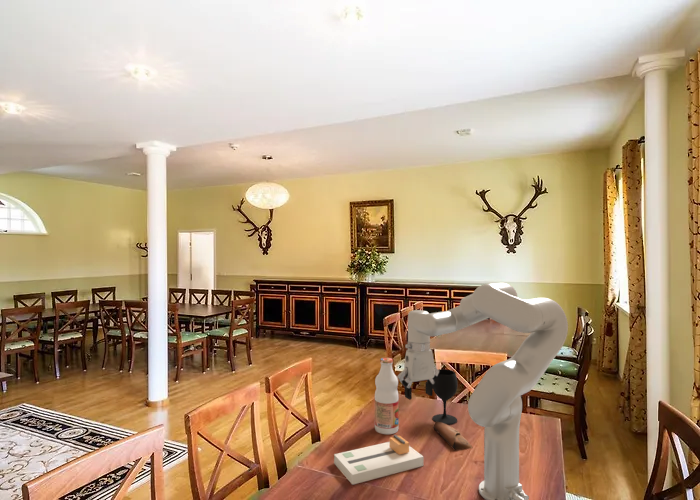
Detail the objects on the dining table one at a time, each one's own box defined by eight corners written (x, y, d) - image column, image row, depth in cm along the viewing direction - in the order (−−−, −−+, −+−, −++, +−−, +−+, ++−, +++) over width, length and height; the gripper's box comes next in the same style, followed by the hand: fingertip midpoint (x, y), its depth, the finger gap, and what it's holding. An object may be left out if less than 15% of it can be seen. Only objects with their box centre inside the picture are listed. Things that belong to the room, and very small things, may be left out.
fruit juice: (371, 426, 167) (371, 356, 167) (393, 423, 169) (393, 355, 169) (378, 436, 158) (378, 362, 158) (402, 433, 160) (402, 361, 160)
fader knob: (399, 444, 144) (399, 433, 144) (409, 452, 138) (409, 440, 138) (389, 447, 142) (389, 435, 142) (398, 454, 136) (398, 443, 136)
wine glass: (430, 423, 170) (430, 374, 170) (433, 413, 180) (433, 367, 180) (457, 426, 167) (456, 376, 167) (458, 416, 177) (457, 369, 177)
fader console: (400, 447, 148) (400, 438, 148) (423, 465, 136) (423, 456, 136) (334, 463, 137) (334, 454, 137) (352, 484, 125) (352, 474, 125)
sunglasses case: (475, 448, 148) (466, 432, 147) (459, 459, 147) (450, 444, 146) (452, 427, 165) (444, 413, 165) (438, 437, 164) (430, 424, 163)
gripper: (403, 351, 137) (403, 404, 136) (445, 346, 144) (445, 396, 144) (391, 346, 143) (391, 396, 143) (432, 341, 151) (432, 389, 151)
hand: (418, 396), depth 144 cm, fingers open, 8 cm apart
